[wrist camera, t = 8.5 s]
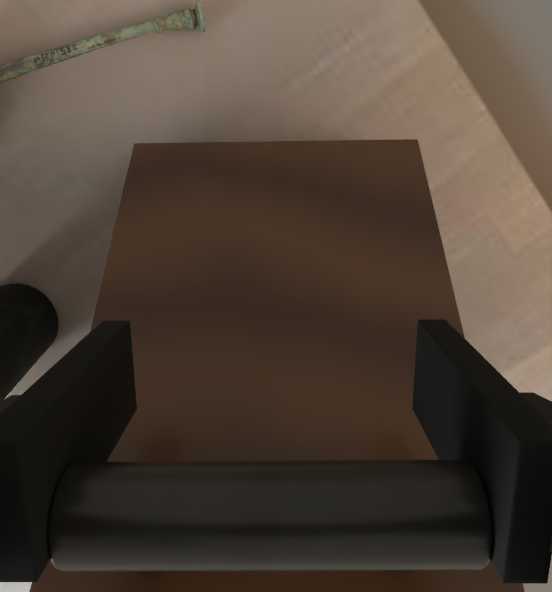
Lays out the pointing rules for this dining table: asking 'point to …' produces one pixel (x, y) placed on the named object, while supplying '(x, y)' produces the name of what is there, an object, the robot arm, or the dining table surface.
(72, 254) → the dining table surface
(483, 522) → the lid
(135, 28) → the soupspoon
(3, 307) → the cup
